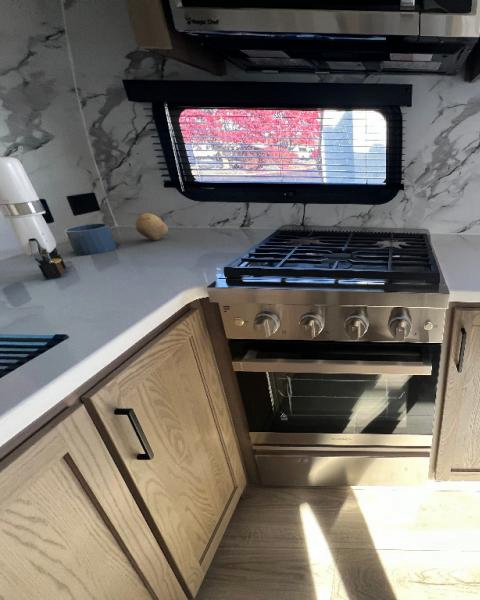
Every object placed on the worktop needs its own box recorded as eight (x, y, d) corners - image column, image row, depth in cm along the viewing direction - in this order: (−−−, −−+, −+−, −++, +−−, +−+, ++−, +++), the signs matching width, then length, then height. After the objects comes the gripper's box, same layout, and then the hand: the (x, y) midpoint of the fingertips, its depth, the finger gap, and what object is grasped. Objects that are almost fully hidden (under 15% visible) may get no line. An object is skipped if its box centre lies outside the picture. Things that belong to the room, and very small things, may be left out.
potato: (136, 241, 123) (125, 214, 118) (161, 235, 130) (152, 209, 125) (149, 244, 119) (138, 216, 114) (174, 238, 126) (165, 211, 121)
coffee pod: (45, 280, 90) (37, 265, 88) (48, 275, 94) (40, 260, 92) (66, 276, 93) (59, 261, 91) (69, 271, 96) (62, 257, 94)
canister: (73, 257, 107) (61, 233, 104) (77, 249, 115) (67, 226, 112) (116, 251, 113) (106, 227, 109) (118, 243, 121) (108, 221, 118)
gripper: (11, 206, 89) (44, 267, 97) (-10, 217, 76) (30, 286, 84) (49, 202, 93) (78, 262, 101) (35, 212, 80) (69, 279, 88)
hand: (56, 272), depth 93 cm, fingers open, 7 cm apart
